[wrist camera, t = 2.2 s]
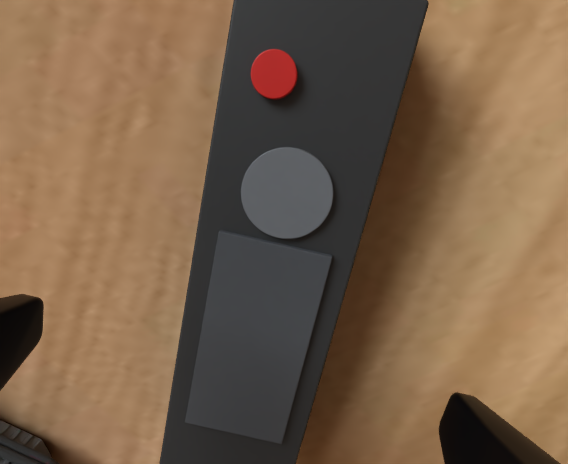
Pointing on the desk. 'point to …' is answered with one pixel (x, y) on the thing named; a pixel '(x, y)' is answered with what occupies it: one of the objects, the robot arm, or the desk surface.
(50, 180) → the desk surface
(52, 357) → the desk surface
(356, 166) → the remote
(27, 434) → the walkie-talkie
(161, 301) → the desk surface
